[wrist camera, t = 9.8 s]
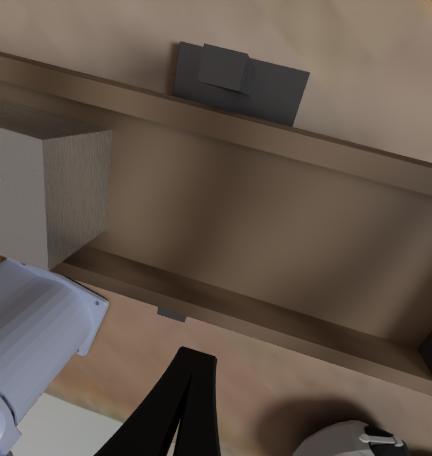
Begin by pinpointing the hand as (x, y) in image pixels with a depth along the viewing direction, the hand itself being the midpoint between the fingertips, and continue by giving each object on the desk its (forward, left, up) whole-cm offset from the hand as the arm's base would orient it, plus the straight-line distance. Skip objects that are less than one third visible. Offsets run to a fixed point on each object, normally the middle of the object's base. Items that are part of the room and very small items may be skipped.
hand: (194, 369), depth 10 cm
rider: (-10, +2, -5) cm, 11 cm away
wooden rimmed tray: (-3, +3, -6) cm, 7 cm away
